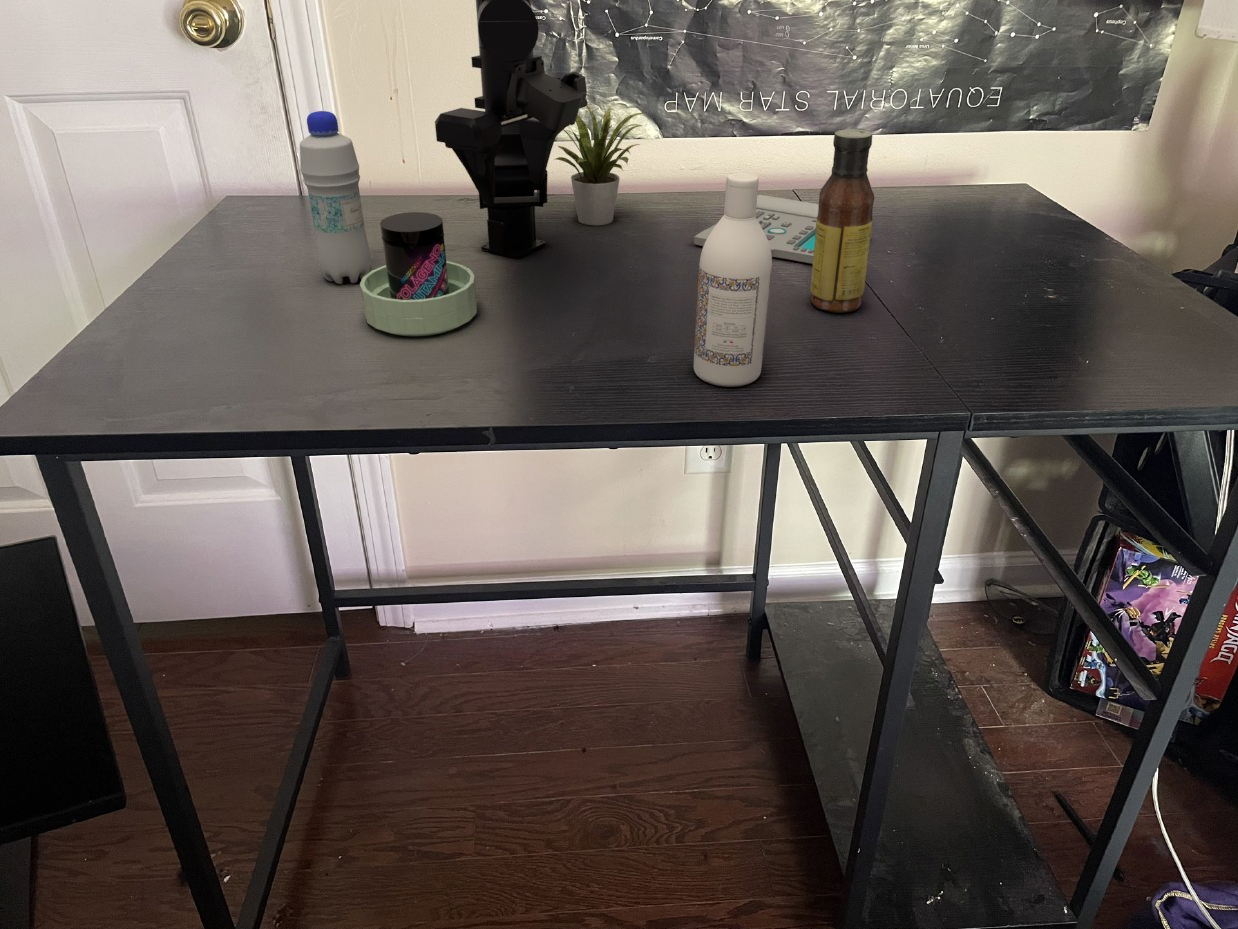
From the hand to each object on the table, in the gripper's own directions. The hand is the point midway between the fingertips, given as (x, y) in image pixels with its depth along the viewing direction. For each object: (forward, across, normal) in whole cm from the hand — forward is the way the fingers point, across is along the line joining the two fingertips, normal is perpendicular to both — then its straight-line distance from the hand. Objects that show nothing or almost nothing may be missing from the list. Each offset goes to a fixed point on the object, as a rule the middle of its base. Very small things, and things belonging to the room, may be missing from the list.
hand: (514, 193), depth 104 cm
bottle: (+12, -8, +21) cm, 26 cm away
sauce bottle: (+12, +17, -34) cm, 40 cm away
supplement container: (+12, -12, +5) cm, 17 cm away
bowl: (+12, -12, +5) cm, 18 cm away
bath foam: (+12, -6, -31) cm, 34 cm away
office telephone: (+12, +38, -20) cm, 45 cm away
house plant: (+12, +29, +6) cm, 32 cm away
